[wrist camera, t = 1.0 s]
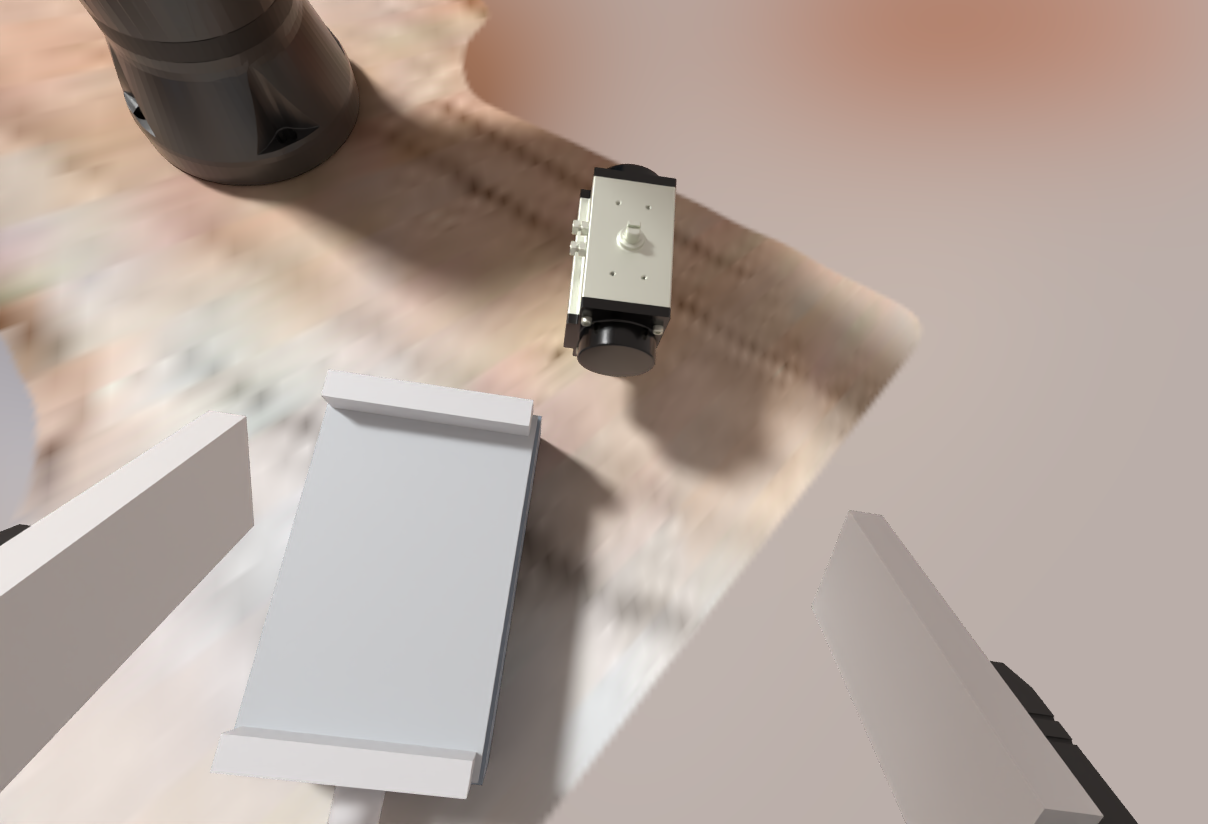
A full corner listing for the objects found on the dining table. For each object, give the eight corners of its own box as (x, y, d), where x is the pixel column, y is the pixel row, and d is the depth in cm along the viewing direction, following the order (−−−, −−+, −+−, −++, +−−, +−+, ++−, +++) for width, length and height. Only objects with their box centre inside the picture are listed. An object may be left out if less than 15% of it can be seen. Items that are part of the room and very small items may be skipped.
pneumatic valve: (644, 262, 45) (682, 143, 34) (634, 411, 41) (674, 333, 30) (569, 253, 45) (583, 129, 33) (553, 402, 41) (562, 319, 29)
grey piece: (354, 409, 39) (318, 367, 32) (540, 437, 40) (542, 401, 33) (247, 804, 32) (173, 853, 25) (477, 827, 32) (464, 880, 26)
